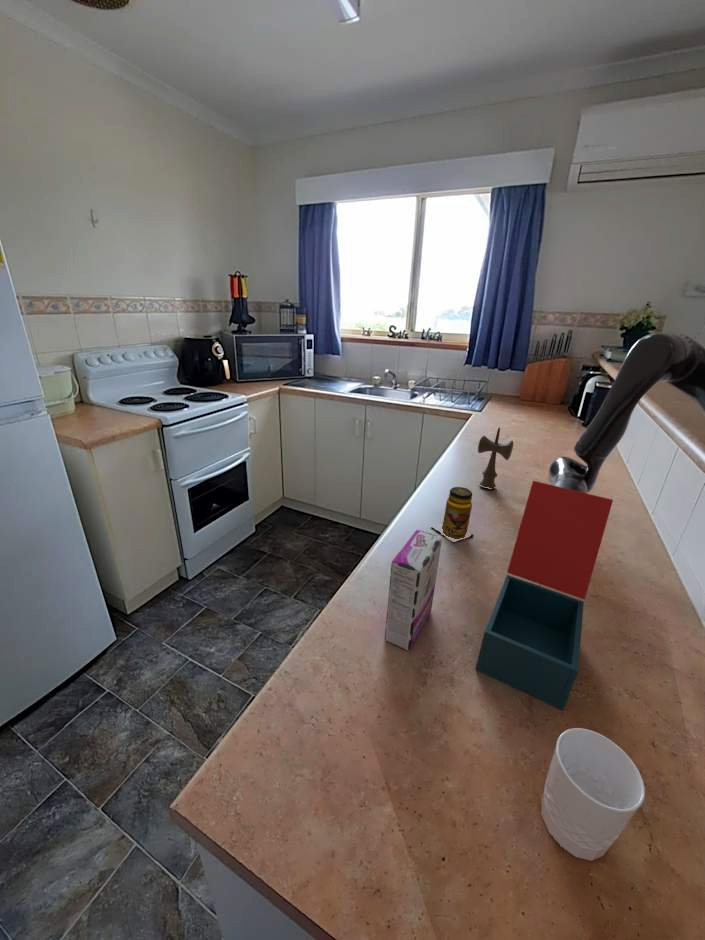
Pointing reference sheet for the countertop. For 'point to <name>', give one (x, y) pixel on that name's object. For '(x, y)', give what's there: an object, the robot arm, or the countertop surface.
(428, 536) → the candy bar box
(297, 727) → the countertop surface
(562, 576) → the lid
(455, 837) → the countertop surface
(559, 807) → the white cup
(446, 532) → the condiment
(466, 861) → the countertop surface
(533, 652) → the box
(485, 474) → the kendama
